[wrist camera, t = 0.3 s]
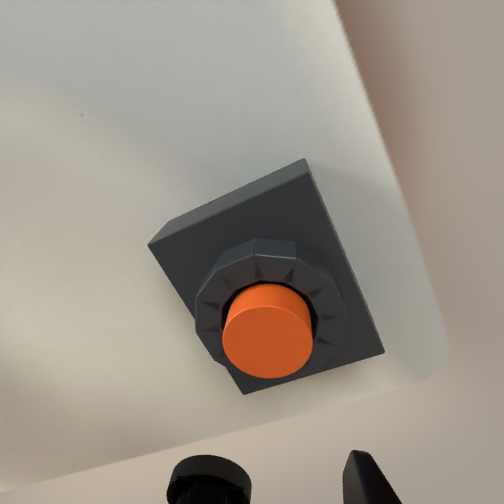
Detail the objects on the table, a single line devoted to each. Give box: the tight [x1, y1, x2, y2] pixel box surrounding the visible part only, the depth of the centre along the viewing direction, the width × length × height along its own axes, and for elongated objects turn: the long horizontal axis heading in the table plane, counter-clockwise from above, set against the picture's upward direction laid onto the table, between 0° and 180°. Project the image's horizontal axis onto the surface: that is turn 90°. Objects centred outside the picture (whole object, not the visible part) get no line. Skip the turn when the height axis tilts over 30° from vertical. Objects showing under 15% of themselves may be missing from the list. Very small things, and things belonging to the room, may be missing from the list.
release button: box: [222, 284, 313, 378], centre depth 15 cm, size 4×4×2 cm
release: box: [148, 158, 385, 395], centre depth 18 cm, size 10×8×5 cm
